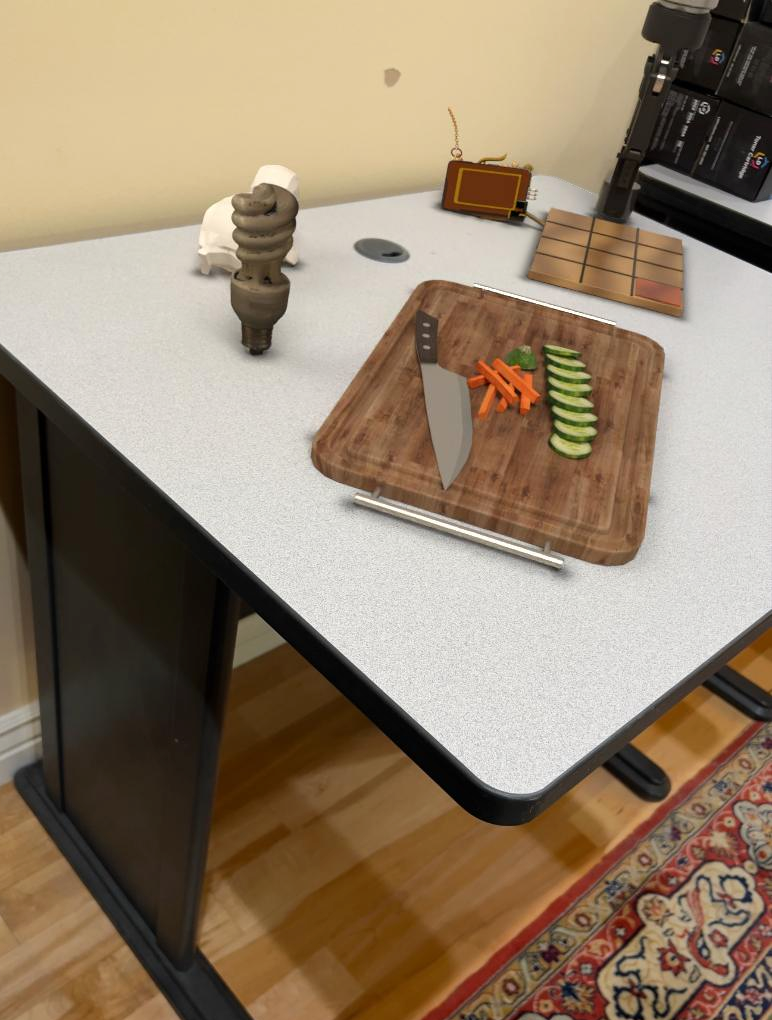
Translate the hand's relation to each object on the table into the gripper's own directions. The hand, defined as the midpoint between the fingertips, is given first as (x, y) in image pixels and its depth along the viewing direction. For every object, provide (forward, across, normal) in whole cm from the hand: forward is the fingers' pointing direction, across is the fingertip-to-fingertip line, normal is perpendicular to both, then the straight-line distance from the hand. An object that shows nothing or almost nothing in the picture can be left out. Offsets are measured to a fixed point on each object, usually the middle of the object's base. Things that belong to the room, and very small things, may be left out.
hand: (614, 203), depth 123 cm
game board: (+2, +17, +1) cm, 17 cm away
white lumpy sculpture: (+2, +44, -37) cm, 57 cm away
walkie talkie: (+3, +11, -14) cm, 18 cm away
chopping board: (+2, +59, -6) cm, 59 cm away
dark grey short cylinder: (+1, 0, 0) cm, 1 cm away
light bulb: (+2, +63, -30) cm, 70 cm away
